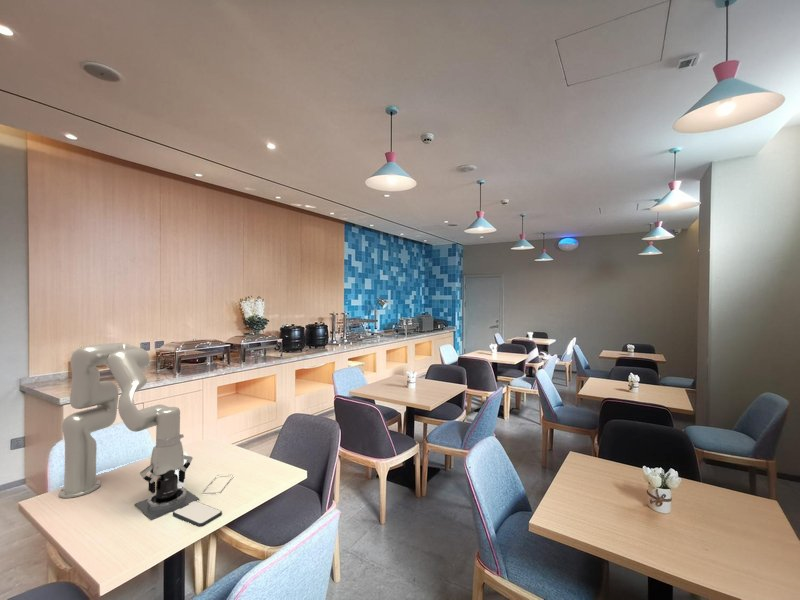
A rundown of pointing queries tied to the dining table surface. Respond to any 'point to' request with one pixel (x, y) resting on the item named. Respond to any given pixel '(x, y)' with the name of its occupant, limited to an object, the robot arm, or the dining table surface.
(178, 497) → the ring collar
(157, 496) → the supplement bottle
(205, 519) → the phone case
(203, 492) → the phone case
